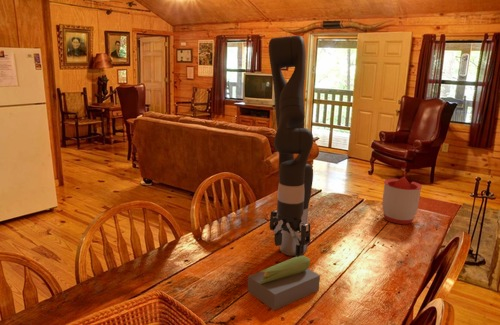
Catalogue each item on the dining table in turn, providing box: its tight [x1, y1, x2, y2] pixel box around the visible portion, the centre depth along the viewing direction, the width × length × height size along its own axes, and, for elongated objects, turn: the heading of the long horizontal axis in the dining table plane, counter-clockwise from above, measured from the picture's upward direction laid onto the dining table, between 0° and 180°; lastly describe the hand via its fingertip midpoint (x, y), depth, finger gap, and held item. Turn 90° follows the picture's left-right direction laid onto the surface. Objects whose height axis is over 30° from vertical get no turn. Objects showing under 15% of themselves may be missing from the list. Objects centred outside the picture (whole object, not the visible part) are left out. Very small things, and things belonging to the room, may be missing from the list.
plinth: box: [247, 267, 321, 311], centre depth 121 cm, size 18×12×5 cm, turn 128°
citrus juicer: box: [382, 176, 423, 225], centre depth 180 cm, size 16×17×20 cm
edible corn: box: [259, 255, 311, 284], centre depth 120 cm, size 5×20×5 cm
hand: (288, 250), depth 119 cm, fingers open, 8 cm apart
